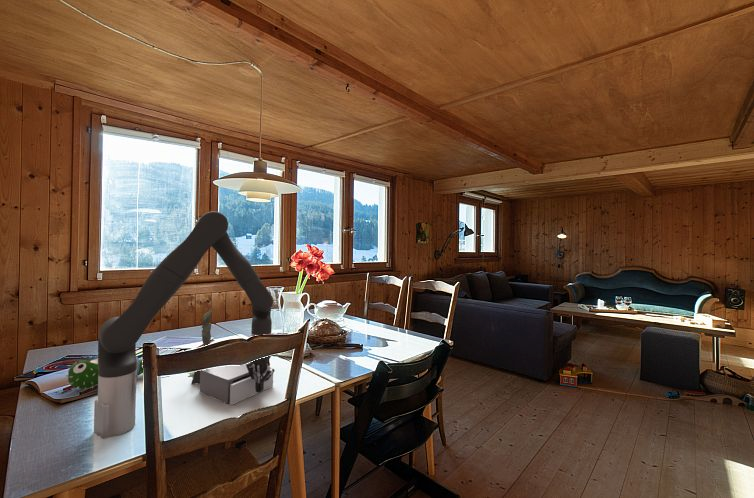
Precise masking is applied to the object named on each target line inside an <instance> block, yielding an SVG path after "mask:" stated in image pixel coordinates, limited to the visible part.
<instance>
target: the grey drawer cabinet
mask: <svg viewBox="0 0 754 498" xmlns="http://www.w3.org/2000/svg"><path fill="white" fill-rule="evenodd" d="M252 373H253V372H252ZM247 375H250V374H249V372H248V369H247V367H246V364H245V365H240V366H225V367H217V368H211V369H206V370H201V371H200V384H199V393H201V394H203V395H205V396H207V397H210V398H212V399H215V400H217V401H220V402H222V403H224V402H225V403H224V404H226V403H228V404H230V385H231V384H233V381H234V380H237V379H239V378H242V377H245V376H247Z"/></svg>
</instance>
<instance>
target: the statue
mask: <svg viewBox="0 0 754 498" xmlns="http://www.w3.org/2000/svg"><path fill="white" fill-rule="evenodd" d="M213 310H214V308H213V307H211V308H210V309H209V311H207V312H205V313H204V314H203V315H202V316H201V319H202V321H201V324H202V326H201V328H202V330H201V337H202V338H201V339H202V340H201V341H202V345H203V347H204V346H205V345H208V344H211V339H212V334H211V329H212V322H210V320H211V318H212V313H213ZM190 384H191V385H200V371H197V372H195V371H194V373H193V376H192V379H191V383H190Z"/></svg>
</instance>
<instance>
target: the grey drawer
mask: <svg viewBox="0 0 754 498" xmlns="http://www.w3.org/2000/svg"><path fill="white" fill-rule="evenodd" d="M273 386H274V373H273V374H272V376H271V377H270V378H269V380H268V381H265V382H264V389H263V391H262V392H264V391H266V390H269V389H270V388H272V387H273ZM257 394H259V393H258V392H256V390H255V381H254V379H251V377H248V378H246V379H243V380H241V381H238V382H237V380H234V381H233V384H231V385H230V403H229V405H231V406H233V405H234V404H237V403H240V402H241V401H243V400H246V399H249V398H250V397H252V396H255V395H257Z"/></svg>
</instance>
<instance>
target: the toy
mask: <svg viewBox="0 0 754 498" xmlns="http://www.w3.org/2000/svg"><path fill="white" fill-rule="evenodd" d="M136 359H137V373H136V379H137V378H138V376H140V375H142V374H144V373H143V368H142V359H140V358H139V357H138V356H136ZM67 368H68V372H67V375H66V376H65V378H66V377H67V379H68V381H67V383H66V384H67V386H68V385H70V386H71V387H73V390H76V389H77V390H79V389H80V390H83V391H84V390H85V391H86V390H88V389H91V388H90V387H92V388H95V386H98V358H96V359H93V360H92V359H90V360H89V359H82V360H79V361H75V362H74V364H73V365H72V366H71V367H67ZM87 388H88V389H87Z"/></svg>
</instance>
